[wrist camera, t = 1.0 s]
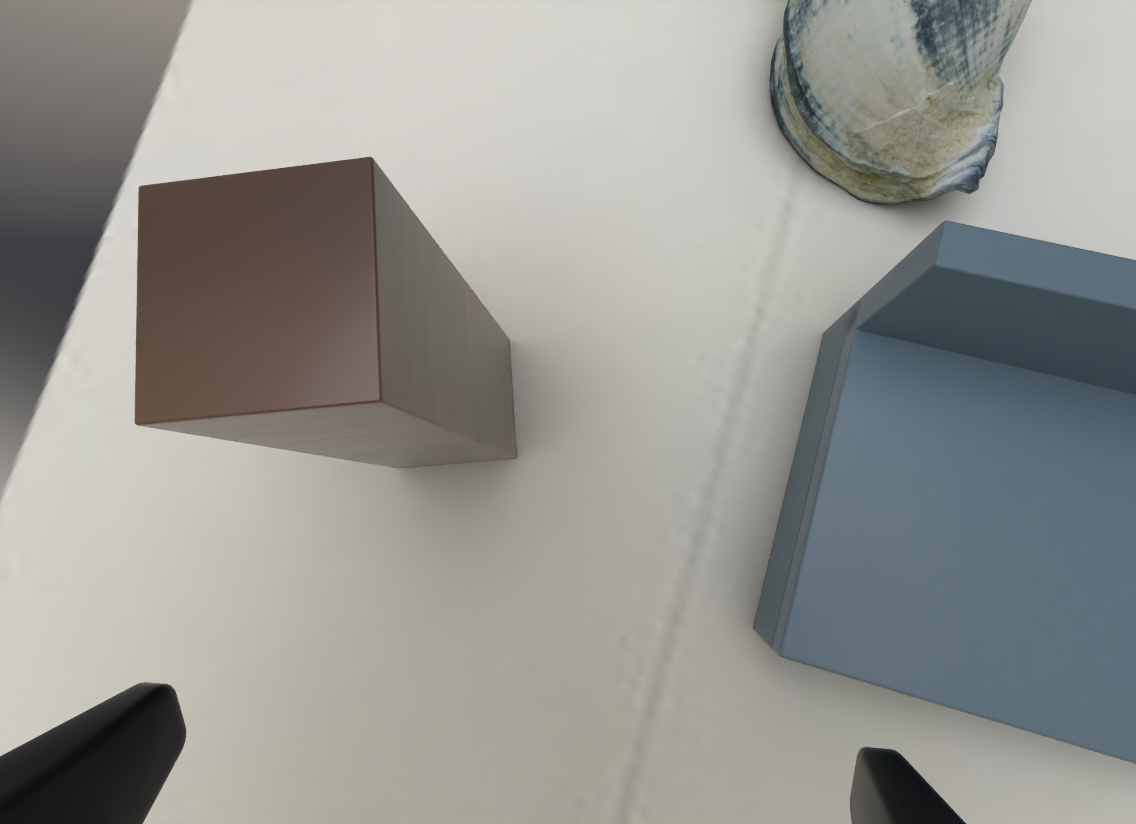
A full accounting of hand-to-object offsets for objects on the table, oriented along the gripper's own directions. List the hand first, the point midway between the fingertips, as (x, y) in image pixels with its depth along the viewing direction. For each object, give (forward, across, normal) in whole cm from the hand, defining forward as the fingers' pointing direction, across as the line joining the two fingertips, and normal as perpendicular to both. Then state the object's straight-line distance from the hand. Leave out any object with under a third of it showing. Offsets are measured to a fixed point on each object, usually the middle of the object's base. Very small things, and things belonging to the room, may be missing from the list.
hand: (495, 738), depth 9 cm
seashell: (+22, -9, -10) cm, 26 cm away
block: (+15, +5, +1) cm, 16 cm away
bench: (+14, -14, +4) cm, 20 cm away
